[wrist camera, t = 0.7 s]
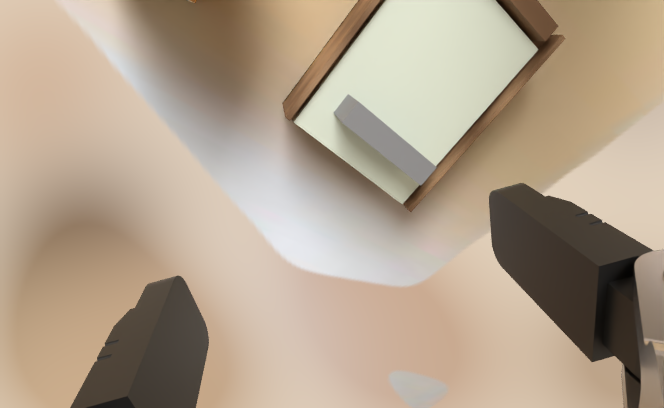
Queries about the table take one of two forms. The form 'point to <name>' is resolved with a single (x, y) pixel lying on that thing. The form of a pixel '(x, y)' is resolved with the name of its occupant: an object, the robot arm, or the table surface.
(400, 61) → the cover plate
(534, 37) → the walnut box
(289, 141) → the table surface
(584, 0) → the table surface
